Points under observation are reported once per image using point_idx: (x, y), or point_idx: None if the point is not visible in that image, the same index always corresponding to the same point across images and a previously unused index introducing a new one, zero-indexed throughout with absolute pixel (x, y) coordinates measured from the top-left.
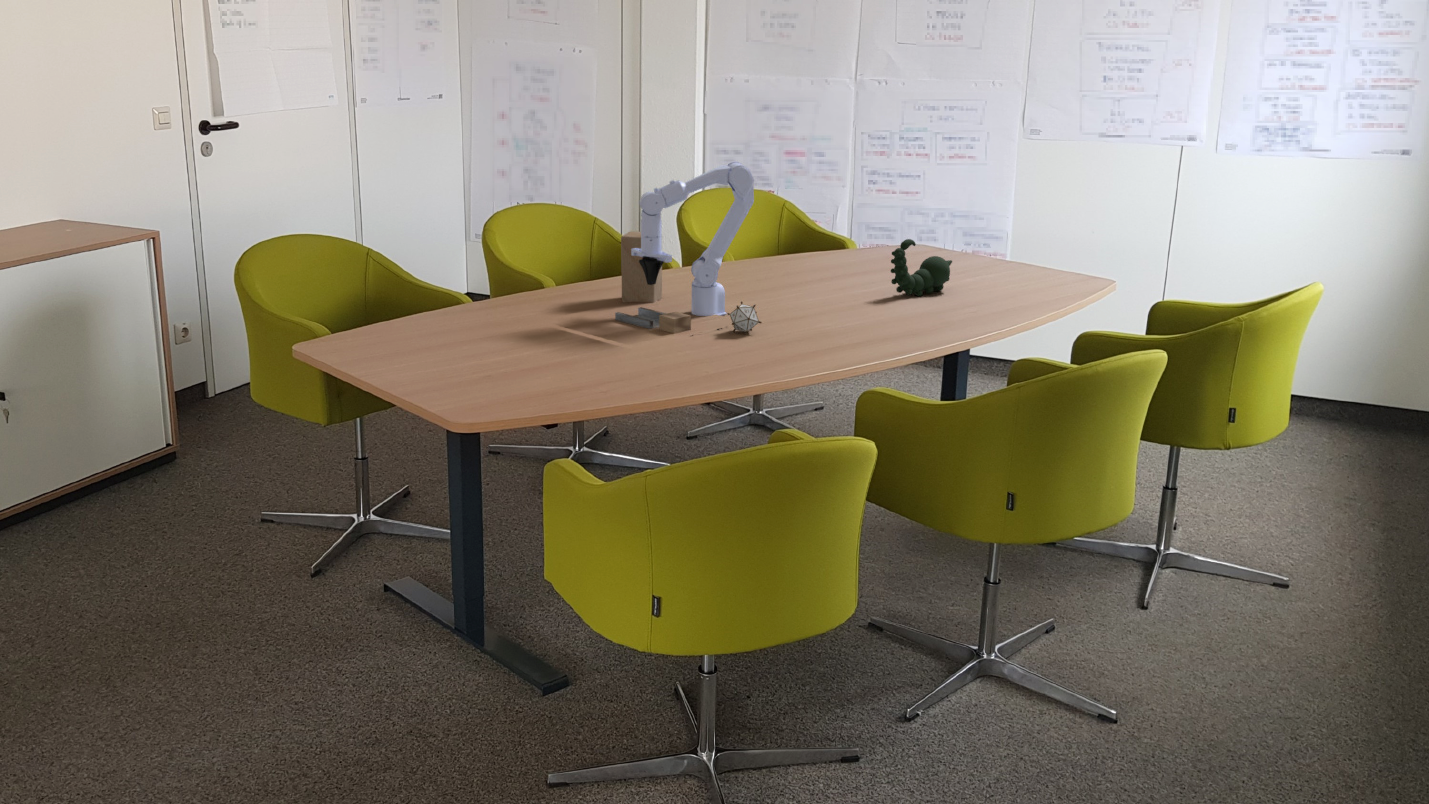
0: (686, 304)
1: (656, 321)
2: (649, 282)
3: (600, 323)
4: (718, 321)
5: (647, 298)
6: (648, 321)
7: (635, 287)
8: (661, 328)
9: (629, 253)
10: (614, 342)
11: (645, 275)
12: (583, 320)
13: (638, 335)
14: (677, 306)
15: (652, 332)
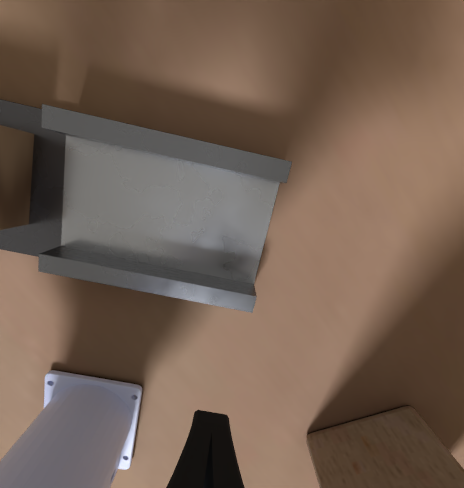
0: None
1: (131, 237)
2: (199, 424)
3: (328, 119)
4: (7, 378)
5: (333, 449)
6: (53, 107)
7: (401, 483)
8: (13, 128)
9: None
10: None
11: (236, 484)
12: (418, 121)
13: (68, 30)
14: None
15: None
